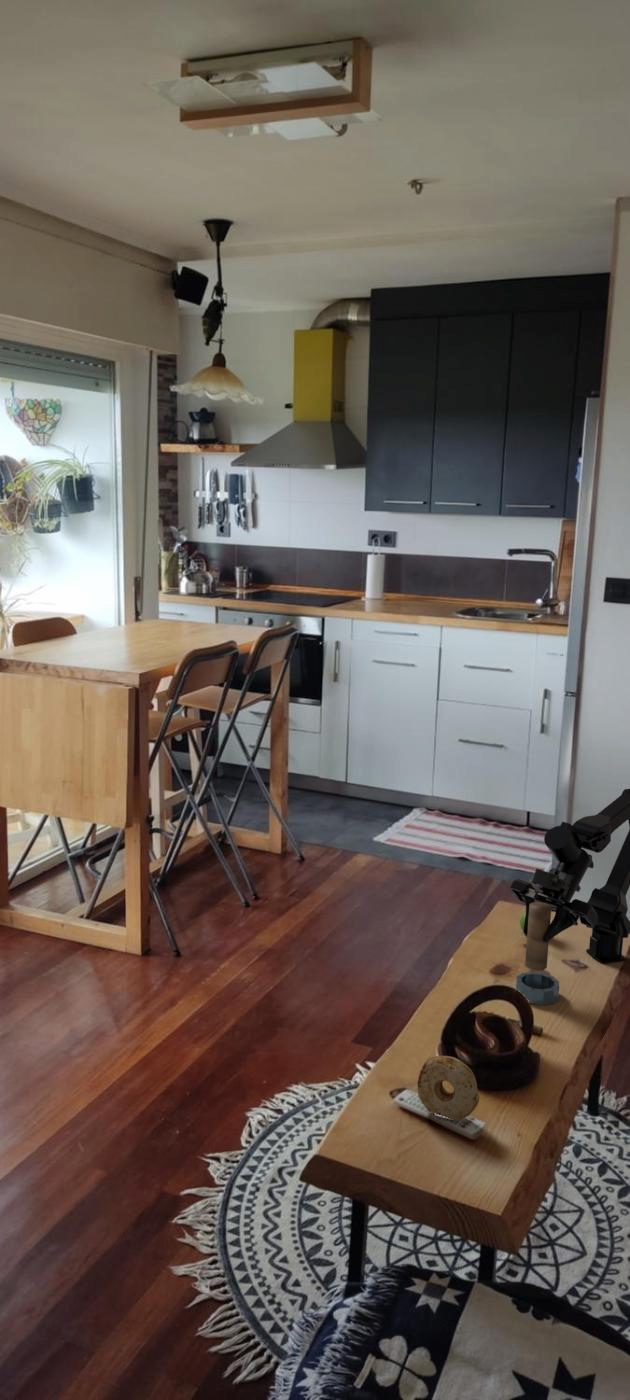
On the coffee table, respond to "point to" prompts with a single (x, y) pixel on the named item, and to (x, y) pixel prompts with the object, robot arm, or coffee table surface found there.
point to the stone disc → (437, 1097)
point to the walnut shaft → (537, 936)
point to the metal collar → (538, 980)
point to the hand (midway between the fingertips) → (534, 937)
